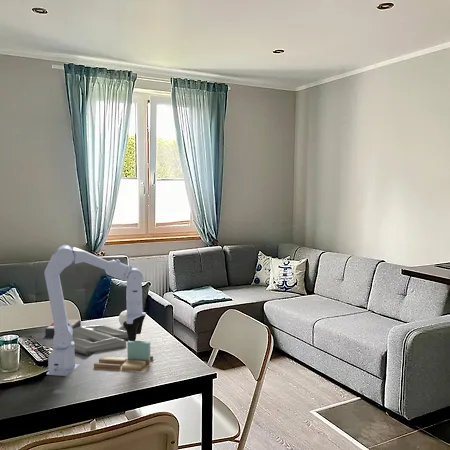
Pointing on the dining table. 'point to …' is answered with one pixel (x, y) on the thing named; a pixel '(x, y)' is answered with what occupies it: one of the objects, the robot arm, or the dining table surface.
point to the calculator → (50, 331)
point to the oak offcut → (133, 364)
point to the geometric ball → (123, 317)
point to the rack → (118, 364)
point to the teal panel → (138, 350)
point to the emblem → (98, 339)
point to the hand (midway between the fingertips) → (135, 337)
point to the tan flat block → (133, 368)
